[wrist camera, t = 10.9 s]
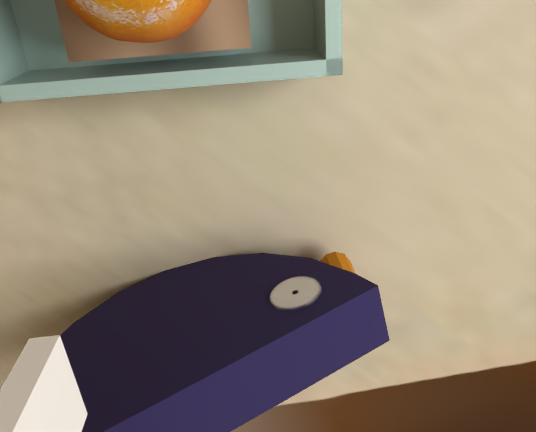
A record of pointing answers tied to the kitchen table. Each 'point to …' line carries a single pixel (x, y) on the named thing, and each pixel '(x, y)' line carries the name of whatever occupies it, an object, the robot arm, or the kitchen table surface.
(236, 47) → the walnut block
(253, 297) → the toy
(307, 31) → the tote
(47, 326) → the kitchen table surface
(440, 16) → the kitchen table surface
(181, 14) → the fruit
